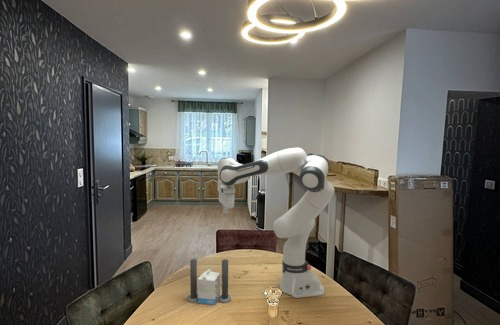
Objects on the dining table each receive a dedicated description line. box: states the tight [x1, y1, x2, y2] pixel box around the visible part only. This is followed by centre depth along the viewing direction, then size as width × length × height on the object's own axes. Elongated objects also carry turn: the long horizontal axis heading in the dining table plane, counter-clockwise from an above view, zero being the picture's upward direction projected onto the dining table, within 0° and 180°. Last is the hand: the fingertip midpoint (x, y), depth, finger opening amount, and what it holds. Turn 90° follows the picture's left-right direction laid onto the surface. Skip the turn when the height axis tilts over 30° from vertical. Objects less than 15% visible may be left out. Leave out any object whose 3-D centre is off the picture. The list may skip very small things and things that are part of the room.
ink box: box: [197, 268, 221, 306], centre depth 130 cm, size 9×8×13 cm
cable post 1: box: [186, 258, 198, 304], centre depth 130 cm, size 6×6×19 cm
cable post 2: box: [218, 258, 232, 304], centre depth 130 cm, size 6×6×19 cm
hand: (225, 213), depth 147 cm, fingers closed
